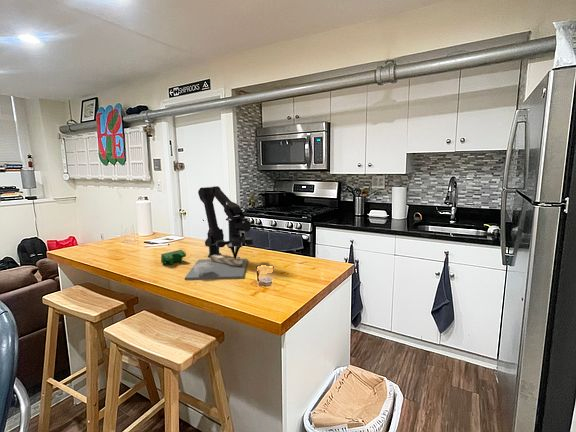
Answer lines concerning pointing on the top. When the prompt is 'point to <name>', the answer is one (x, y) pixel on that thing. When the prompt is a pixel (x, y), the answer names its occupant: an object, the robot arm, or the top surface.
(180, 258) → the clamp
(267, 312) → the top surface
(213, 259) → the link
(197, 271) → the block
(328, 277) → the top surface
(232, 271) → the board
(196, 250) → the top surface
